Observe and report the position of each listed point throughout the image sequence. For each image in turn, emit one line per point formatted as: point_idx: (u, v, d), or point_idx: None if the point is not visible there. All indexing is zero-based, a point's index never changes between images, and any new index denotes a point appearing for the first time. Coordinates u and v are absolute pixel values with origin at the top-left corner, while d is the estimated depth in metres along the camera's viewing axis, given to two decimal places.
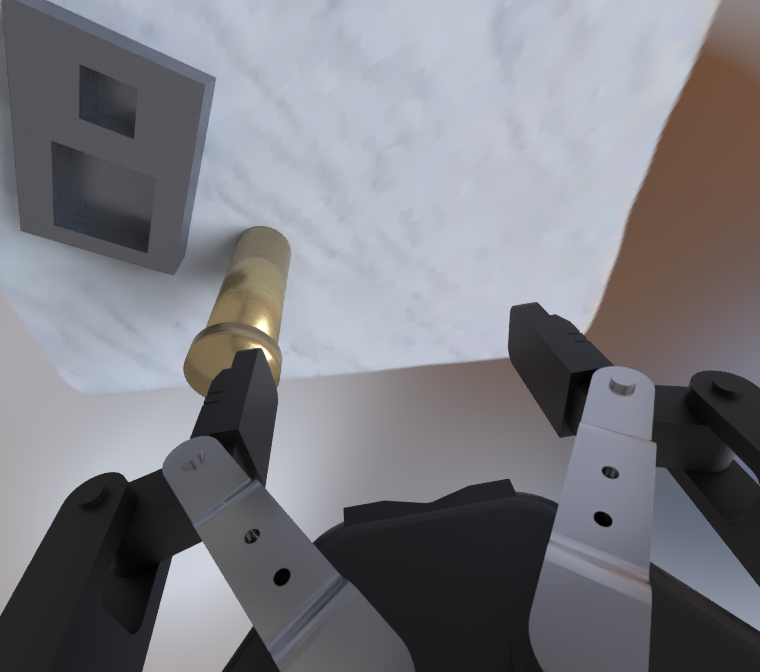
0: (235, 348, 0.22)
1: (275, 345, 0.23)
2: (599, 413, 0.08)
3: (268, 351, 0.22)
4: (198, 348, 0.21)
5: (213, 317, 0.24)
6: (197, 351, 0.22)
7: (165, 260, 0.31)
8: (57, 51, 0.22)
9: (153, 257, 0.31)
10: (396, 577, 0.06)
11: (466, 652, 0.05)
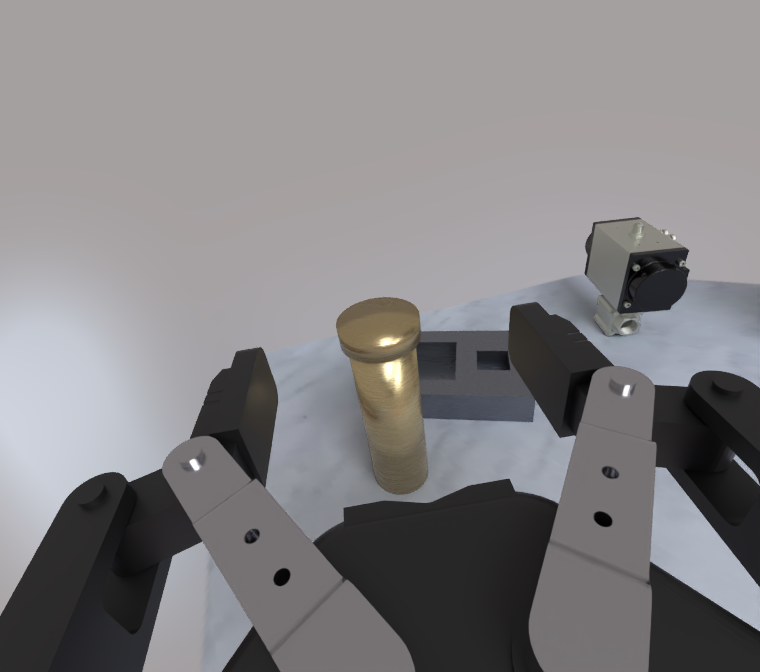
0: (409, 315, 0.25)
1: (405, 351, 0.24)
2: (599, 413, 0.08)
3: (409, 334, 0.24)
4: (403, 301, 0.26)
5: None
6: (399, 300, 0.26)
7: None
8: None
9: None
10: (396, 577, 0.06)
11: (466, 652, 0.05)
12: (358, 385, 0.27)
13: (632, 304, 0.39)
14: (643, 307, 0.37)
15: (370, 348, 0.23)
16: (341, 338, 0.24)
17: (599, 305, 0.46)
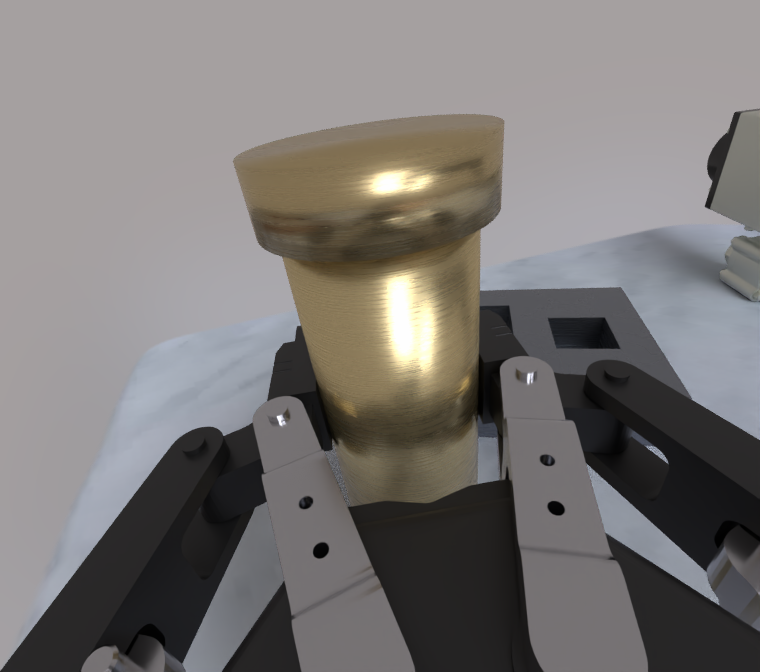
0: (470, 122, 0.08)
1: (462, 221, 0.07)
2: (516, 404, 0.09)
3: (480, 154, 0.06)
4: (442, 116, 0.09)
5: None
6: (432, 116, 0.09)
7: None
8: (603, 307, 0.23)
9: None
10: (396, 577, 0.06)
11: (467, 652, 0.05)
12: (313, 354, 0.09)
13: None
14: None
15: (335, 194, 0.06)
16: (243, 183, 0.07)
17: (733, 254, 0.28)
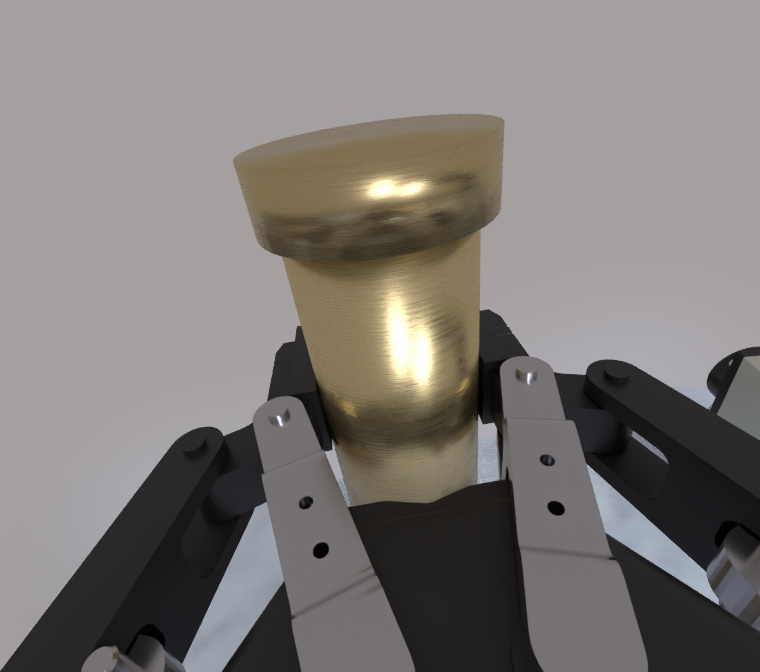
0: (470, 122, 0.08)
1: (462, 220, 0.07)
2: (516, 404, 0.09)
3: (480, 153, 0.06)
4: (442, 115, 0.09)
5: None
6: (432, 116, 0.09)
7: None
8: None
9: None
10: (396, 577, 0.06)
11: (467, 652, 0.05)
12: (313, 354, 0.09)
13: None
14: None
15: (335, 194, 0.06)
16: (242, 183, 0.07)
17: None
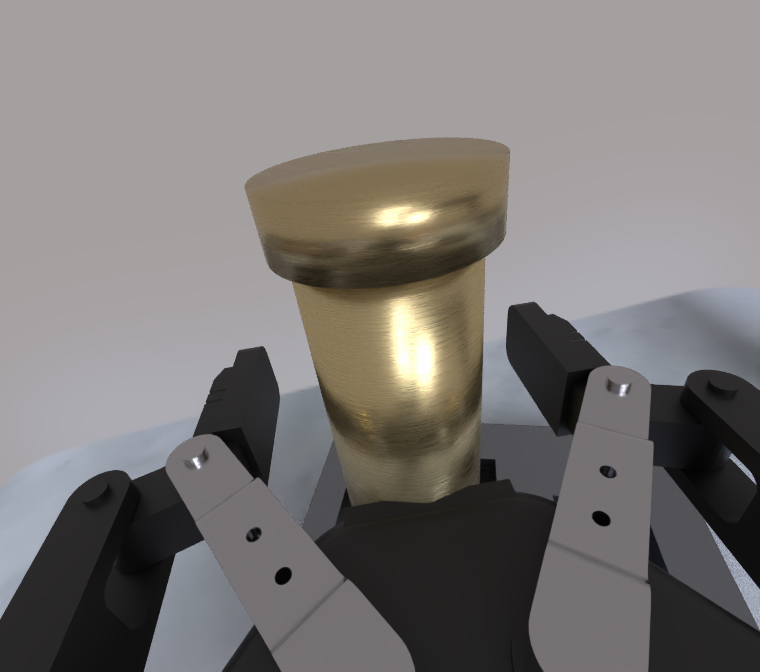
0: (476, 149, 0.08)
1: (469, 249, 0.07)
2: (596, 412, 0.08)
3: (487, 185, 0.07)
4: (447, 139, 0.10)
5: None
6: (438, 139, 0.10)
7: None
8: None
9: None
10: (396, 577, 0.06)
11: (467, 652, 0.05)
12: (320, 372, 0.10)
13: None
14: None
15: (346, 226, 0.06)
16: (254, 210, 0.07)
17: None
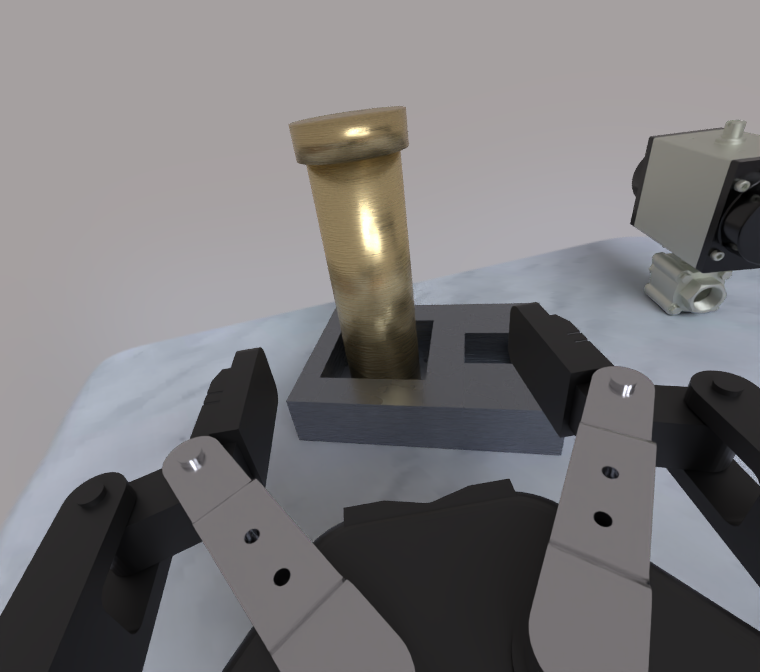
0: (392, 109, 0.18)
1: (384, 147, 0.17)
2: (599, 413, 0.08)
3: (390, 119, 0.16)
4: (385, 107, 0.19)
5: None
6: None
7: (309, 392, 0.22)
8: None
9: (314, 382, 0.23)
10: (396, 577, 0.06)
11: (466, 652, 0.05)
12: (322, 223, 0.19)
13: (725, 255, 0.23)
14: (750, 257, 0.22)
15: (332, 134, 0.16)
16: (294, 133, 0.17)
17: (654, 269, 0.30)
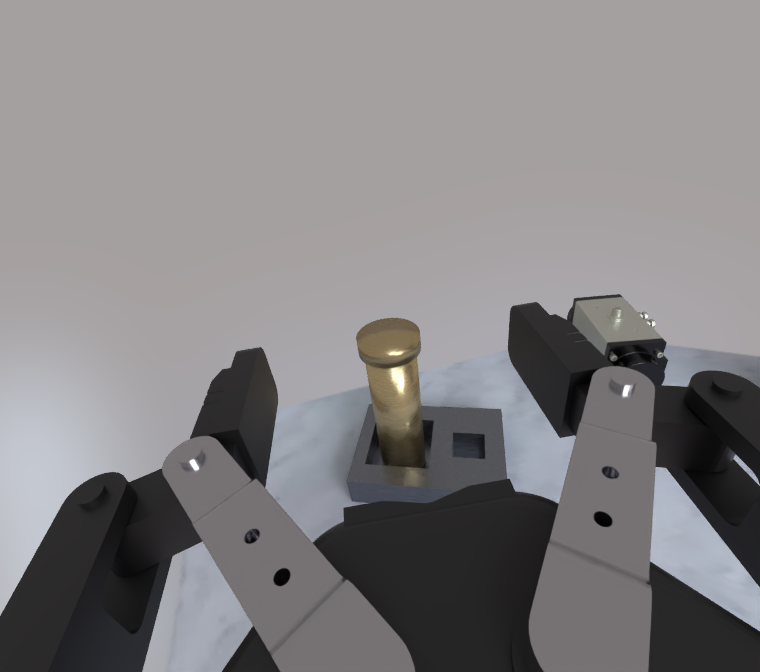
0: (412, 332, 0.33)
1: (408, 359, 0.32)
2: (599, 413, 0.08)
3: (411, 347, 0.31)
4: (407, 321, 0.34)
5: None
6: (405, 321, 0.34)
7: (360, 475, 0.37)
8: (485, 426, 0.40)
9: (362, 467, 0.38)
10: (396, 577, 0.06)
11: (467, 652, 0.05)
12: (371, 385, 0.34)
13: None
14: None
15: (382, 356, 0.31)
16: (360, 348, 0.32)
17: None
